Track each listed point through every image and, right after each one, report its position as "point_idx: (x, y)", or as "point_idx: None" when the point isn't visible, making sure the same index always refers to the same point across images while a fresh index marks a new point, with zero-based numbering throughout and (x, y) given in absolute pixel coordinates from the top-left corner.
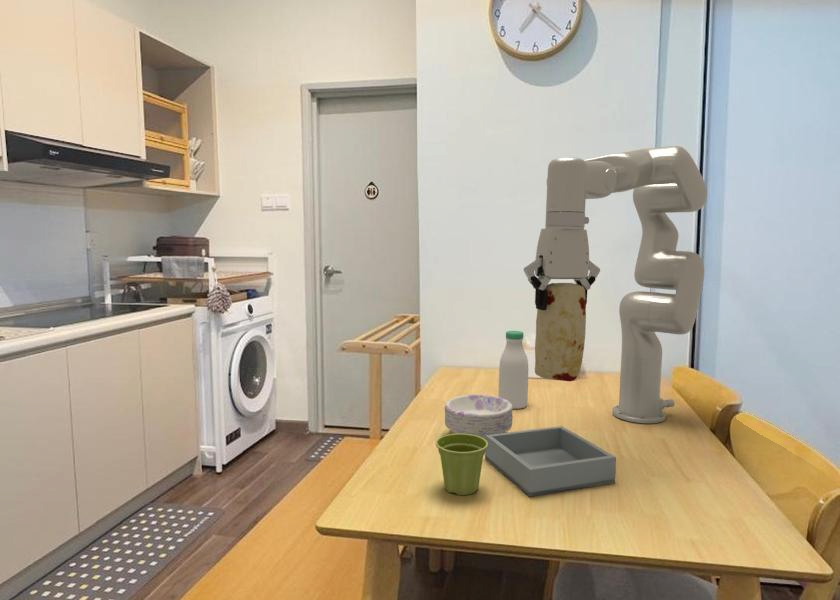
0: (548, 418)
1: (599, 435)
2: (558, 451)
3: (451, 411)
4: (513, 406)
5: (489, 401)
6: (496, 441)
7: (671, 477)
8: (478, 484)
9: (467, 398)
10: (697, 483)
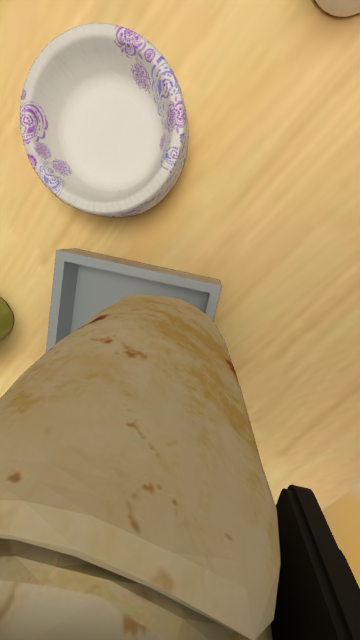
0: (338, 124)
1: (337, 267)
2: (192, 300)
3: (21, 131)
4: (322, 4)
5: (160, 90)
6: (57, 286)
7: (271, 437)
8: (3, 337)
9: (112, 44)
10: (283, 463)
